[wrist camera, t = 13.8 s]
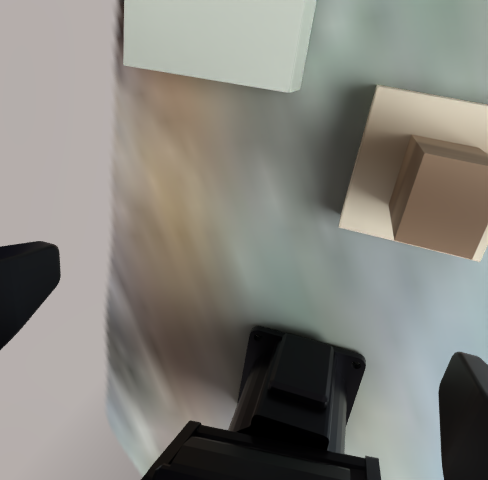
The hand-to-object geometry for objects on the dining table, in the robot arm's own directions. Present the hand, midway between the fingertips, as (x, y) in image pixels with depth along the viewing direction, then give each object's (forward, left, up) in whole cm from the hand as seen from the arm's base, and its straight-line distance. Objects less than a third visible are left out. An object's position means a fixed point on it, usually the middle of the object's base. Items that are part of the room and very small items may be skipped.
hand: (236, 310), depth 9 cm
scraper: (+2, -5, -12) cm, 13 cm away
